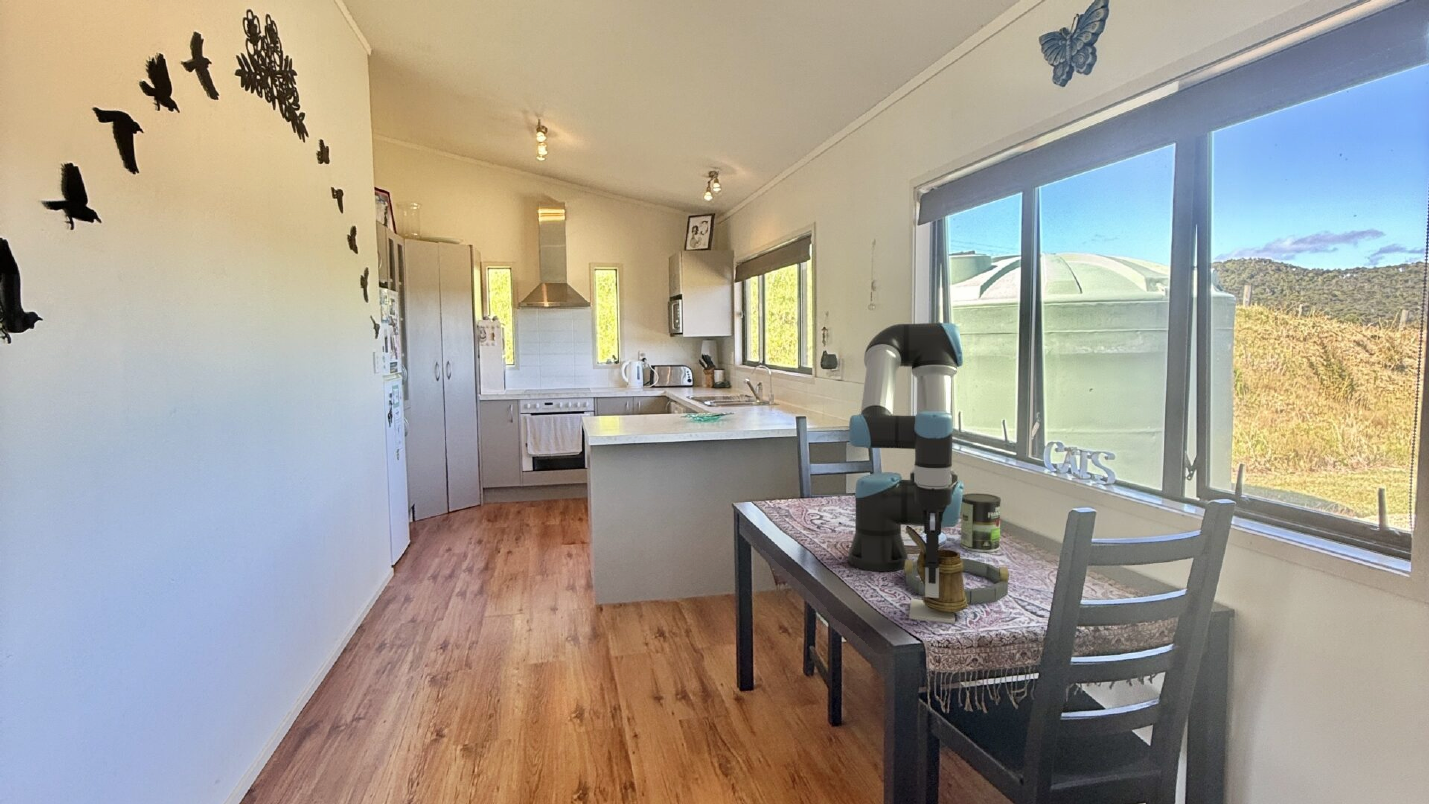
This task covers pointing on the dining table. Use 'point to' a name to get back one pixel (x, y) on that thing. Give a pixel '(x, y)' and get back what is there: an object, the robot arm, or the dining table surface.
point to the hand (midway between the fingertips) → (932, 590)
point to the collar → (971, 595)
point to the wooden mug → (943, 577)
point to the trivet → (929, 613)
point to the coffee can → (980, 522)
